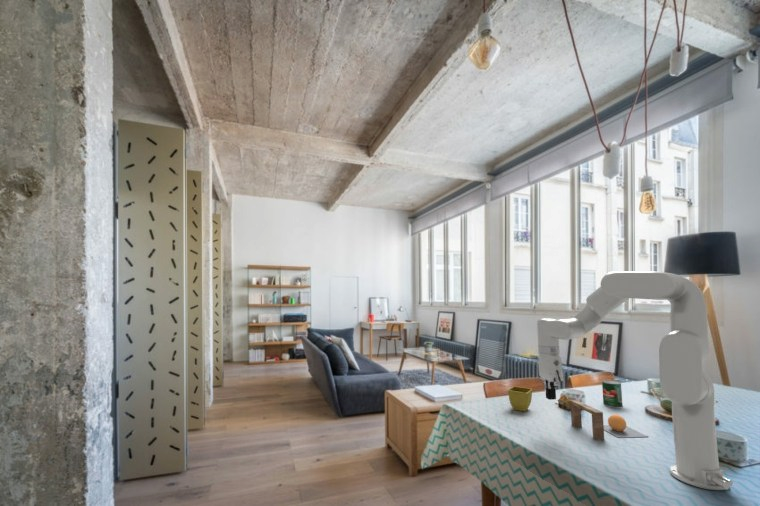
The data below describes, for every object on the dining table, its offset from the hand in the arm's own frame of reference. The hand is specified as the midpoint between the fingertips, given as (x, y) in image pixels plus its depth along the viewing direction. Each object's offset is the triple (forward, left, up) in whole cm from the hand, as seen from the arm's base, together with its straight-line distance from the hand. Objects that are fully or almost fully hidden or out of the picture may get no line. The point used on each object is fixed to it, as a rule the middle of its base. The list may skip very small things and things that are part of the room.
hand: (550, 398), depth 138 cm
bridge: (0, -14, -13) cm, 19 cm away
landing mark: (0, -28, -13) cm, 31 cm away
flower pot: (+28, -1, -13) cm, 31 cm away
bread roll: (+30, -26, -13) cm, 42 cm away
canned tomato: (+32, -49, -13) cm, 60 cm away
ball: (+1, -27, -10) cm, 28 cm away
